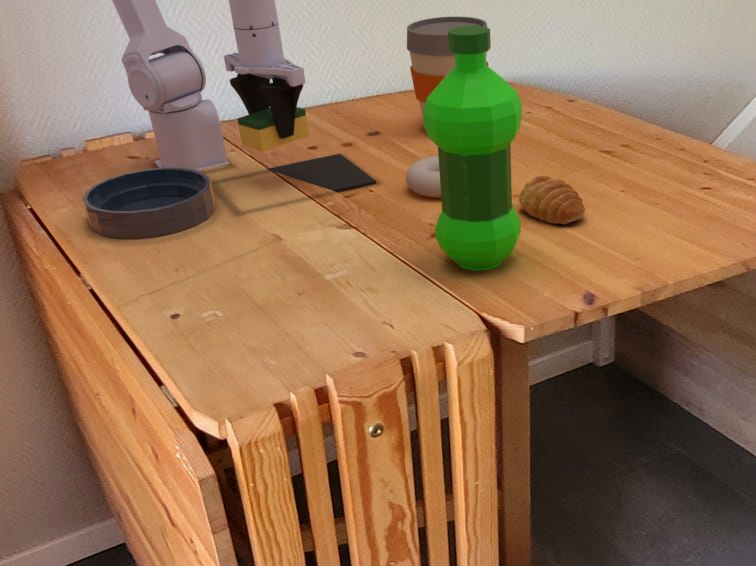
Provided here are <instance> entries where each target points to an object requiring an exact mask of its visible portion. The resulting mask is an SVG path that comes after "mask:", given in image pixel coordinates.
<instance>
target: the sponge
mask: <svg viewBox="0 0 756 566" xmlns="http://www.w3.org/2000/svg"><path fill="white" fill-rule="evenodd" d="M237 124H238V130H239V134H240V135H239V136H240V140H241V145H242V146H243V147H247V148H250V149H253V150H256V151H260V152H266V151H269V150H272V149H275V148H278V147H281V146H284V145H287V144H290V143H293V142H295V141H298V140H302V139H304V138H307V137H309V136H310V133H309V125H308V119H307V113H306V109H305V108H302V107H300V106H299V107H298V106H297V107H296V114H295V125H294V135H292V136H290V137H287V138H284V139H281V138H279V136H278V133H277V130H276V127H275V123H274V119H273V115H272V112H271V109H270V108H269V109H266V110H262V111H259V112H256V113H253V114H250V115H249V114H247V115H243V116H241V117H237Z"/></svg>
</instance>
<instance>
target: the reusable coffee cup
mask: <svg viewBox="0 0 756 566" xmlns="http://www.w3.org/2000/svg"><path fill="white" fill-rule="evenodd" d="M460 26H485V27H487V28H488V24H487V22H486V20H485V19H481V18H478V17H471V16H457V15H456V16H439V17H438V16H437V17H430V18H425V19H420V20H417V21H413V22H412V23H410V24H408V26H407V27H406V50H407V51H409V56H410V61H411V66H410V67H409V70H410V75H411V81H412V84H413V90H414V95H415V99H416V100H417V101H418V102H419V107H420V111H421V117H422V122H423V123H424V115H423V110H424V107H425V103H426V99H427V98H428V96H429V95H430V94H431V93H432V92H433V91H434V89H435V88H436V87H437V86H438V85H439V83H440V82H441V81H442V80H443V79H444V78H445V77H446V76H447V75H448V74H449V73H450V72H451V71H452V70H453V68H454V67H455V54H454V53H452V52H450V51H449V41H448V31H449V30H450V29H452V28H456V27H460ZM487 53H488V51H486V56H488V55H487ZM486 65H487V66H488V67H489V62H488V61H487V60H486ZM423 128H424V131H425V132H426V129H425V125H424V124H423Z"/></svg>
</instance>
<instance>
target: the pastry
mask: <svg viewBox="0 0 756 566" xmlns="http://www.w3.org/2000/svg"><path fill="white" fill-rule="evenodd" d="M518 200H519V204H520V205H521V208H522V209H523V211H524V212H526V213H527V214H528V215H529V216H531V217H533V218H535V219H536V218H537V219H539V220H541V222H542V221H544V222H545V223H548V224H561V225H566V224H571V222H575V221H578V220H581V219H582V218H583V216H584V214H585V212H586V207H585V205H584V203H583V199H582V198H581V196H579V193H578V191H576V190H575V189H574V188H573V186H572V185H570V184H569V183H566V182H565V181H564V180H563V179H553V178H552V177H551V176H547V175H538V176H535V177H533V178H532V179H531V180H530V181H528V182H526V184H525V185H524V186H523V187H522V190H521V191H520V194H519V197H518Z"/></svg>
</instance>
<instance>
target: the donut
mask: <svg viewBox="0 0 756 566" xmlns="http://www.w3.org/2000/svg"><path fill="white" fill-rule="evenodd" d="M405 182H406V184H407V186H408V187H409V189H410V191H412V192H414V193H415V194H417V195H419V196H422V197H426V198H427V197H428V198H435V199H436V198H437V199H441V185H440V171H439V156H438V155H431V156H426V157H423V158H421V159H419V160H416V161H415V162H412V164H411V165H410V166H408V169H407V171H406V175H405Z"/></svg>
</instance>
